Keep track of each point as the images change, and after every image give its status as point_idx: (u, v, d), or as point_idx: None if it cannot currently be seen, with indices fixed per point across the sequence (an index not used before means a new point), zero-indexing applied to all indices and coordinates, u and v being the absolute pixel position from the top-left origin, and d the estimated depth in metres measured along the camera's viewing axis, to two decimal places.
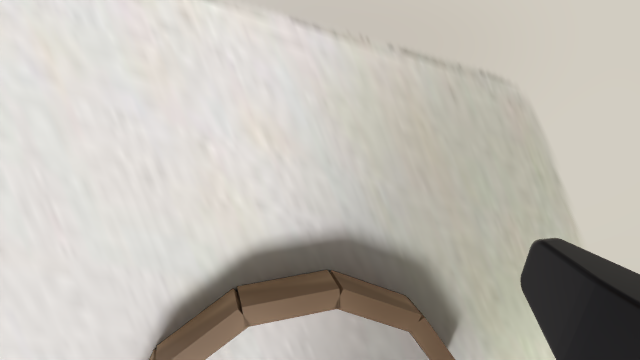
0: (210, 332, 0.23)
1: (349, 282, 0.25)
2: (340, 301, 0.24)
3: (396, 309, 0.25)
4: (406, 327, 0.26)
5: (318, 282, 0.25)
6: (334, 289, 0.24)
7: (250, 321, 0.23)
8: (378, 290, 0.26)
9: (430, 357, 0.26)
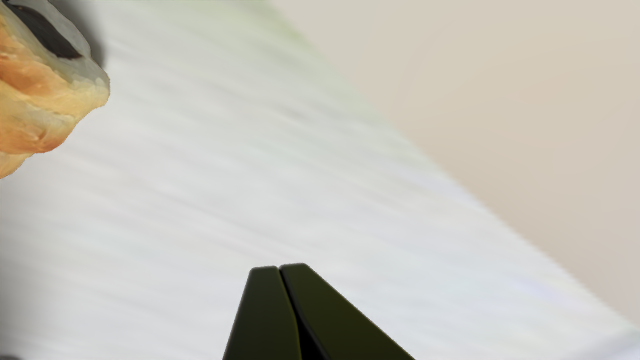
0: None
1: None
2: None
3: None
4: None
5: None
6: None
7: None
8: None
9: None
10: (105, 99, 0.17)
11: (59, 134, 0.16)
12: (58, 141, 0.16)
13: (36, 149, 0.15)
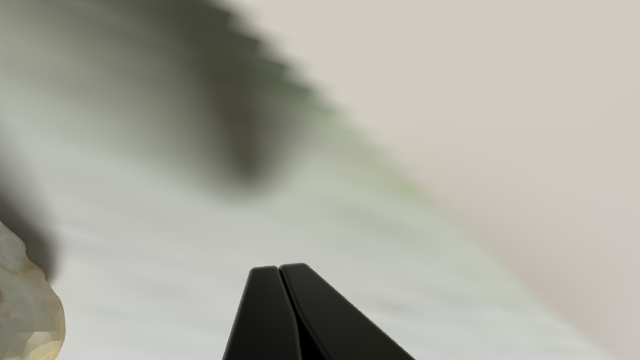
0: None
1: None
2: None
3: None
4: None
5: None
6: None
7: None
8: None
9: None
10: (54, 356, 0.08)
11: None
12: None
13: None
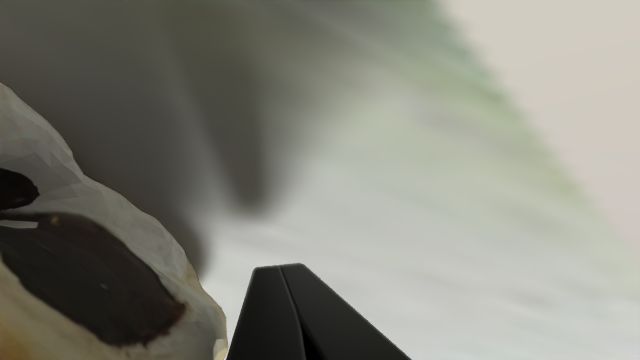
0: None
1: None
2: None
3: None
4: None
5: None
6: None
7: None
8: None
9: None
10: None
11: None
12: None
13: None
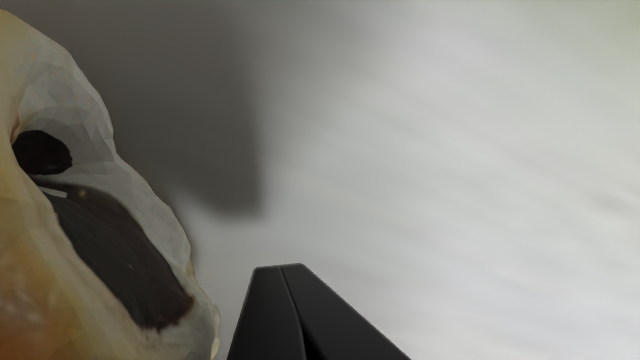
0: None
1: None
2: None
3: None
4: None
5: None
6: None
7: None
8: None
9: None
10: None
11: None
12: None
13: None
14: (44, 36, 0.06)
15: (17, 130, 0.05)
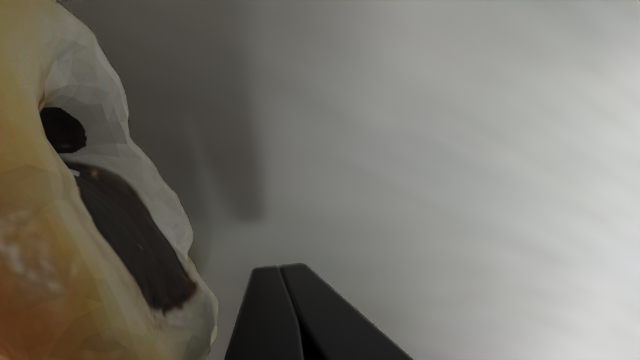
0: None
1: None
2: None
3: None
4: None
5: None
6: None
7: None
8: None
9: None
10: None
11: None
12: None
13: None
14: (71, 15, 0.06)
15: (42, 104, 0.05)
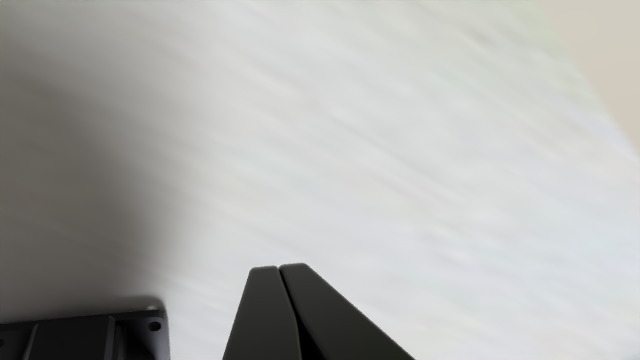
0: None
1: None
2: None
3: None
4: None
5: None
6: None
7: None
8: None
9: None
10: None
11: None
12: None
13: None
14: None
15: None
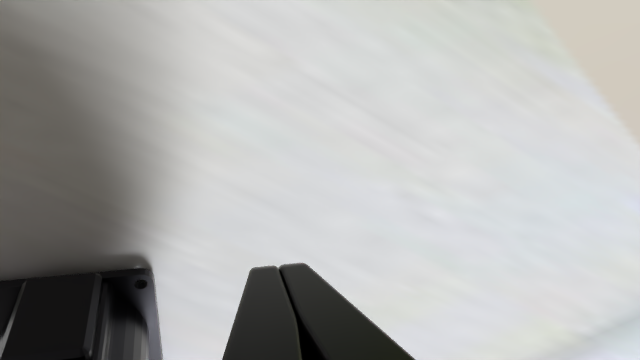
0: None
1: None
2: None
3: None
4: None
5: None
6: None
7: None
8: None
9: None
10: None
11: None
12: None
13: None
14: None
15: None
